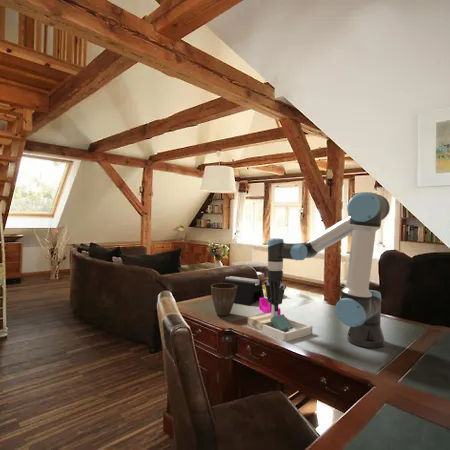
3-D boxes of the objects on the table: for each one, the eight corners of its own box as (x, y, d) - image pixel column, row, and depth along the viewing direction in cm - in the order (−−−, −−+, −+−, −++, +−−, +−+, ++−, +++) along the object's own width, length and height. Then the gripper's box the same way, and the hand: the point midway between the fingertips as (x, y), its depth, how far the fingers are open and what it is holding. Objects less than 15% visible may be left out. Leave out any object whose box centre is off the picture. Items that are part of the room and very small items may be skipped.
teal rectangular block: (287, 330, 158) (290, 326, 156) (277, 332, 154) (280, 329, 152) (280, 317, 162) (283, 314, 160) (270, 319, 158) (273, 316, 156)
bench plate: (287, 325, 164) (287, 318, 164) (264, 331, 155) (264, 323, 155) (270, 320, 174) (270, 312, 174) (247, 325, 164) (247, 317, 164)
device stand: (248, 307, 201) (249, 282, 201) (218, 301, 213) (218, 278, 213) (264, 300, 220) (264, 278, 220) (235, 295, 232) (236, 274, 232)
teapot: (285, 300, 220) (285, 285, 220) (266, 300, 218) (267, 285, 218) (278, 295, 233) (279, 281, 233) (261, 296, 231) (261, 281, 231)
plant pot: (231, 309, 193) (231, 282, 193) (240, 316, 179) (241, 287, 179) (207, 311, 188) (207, 283, 188) (214, 318, 174) (215, 288, 174)
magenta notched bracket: (280, 316, 181) (280, 303, 181) (270, 317, 179) (270, 304, 179) (268, 309, 195) (269, 297, 195) (259, 310, 193) (259, 297, 193)
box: (312, 333, 153) (312, 326, 153) (285, 341, 142) (285, 333, 142) (288, 325, 165) (288, 318, 165) (262, 332, 154) (262, 325, 154)
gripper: (290, 270, 157) (289, 319, 158) (271, 267, 168) (270, 313, 168) (279, 272, 153) (278, 322, 153) (260, 268, 163) (259, 315, 163)
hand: (274, 317), depth 160 cm, fingers closed
